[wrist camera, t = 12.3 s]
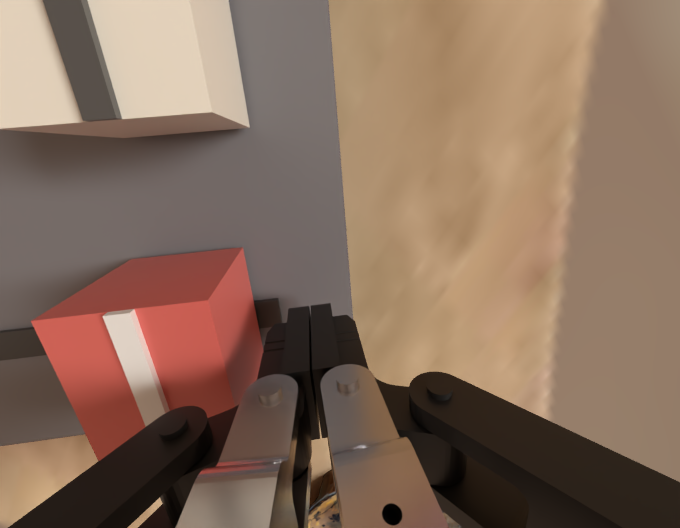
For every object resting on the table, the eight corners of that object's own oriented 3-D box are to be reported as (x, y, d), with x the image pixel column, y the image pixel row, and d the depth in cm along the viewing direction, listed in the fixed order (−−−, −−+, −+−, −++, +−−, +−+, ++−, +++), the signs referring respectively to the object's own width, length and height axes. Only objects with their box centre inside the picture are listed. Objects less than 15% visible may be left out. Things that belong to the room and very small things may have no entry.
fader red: (130, 259, 11) (23, 325, 7) (242, 247, 12) (205, 304, 7) (174, 391, 13) (112, 504, 9) (269, 378, 14) (251, 483, 9)
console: (-497, -98, 9) (-879, -217, 6) (310, -123, 11) (311, -226, 8) (-109, 418, 16) (-203, 478, 13) (350, 357, 18) (359, 398, 15)
